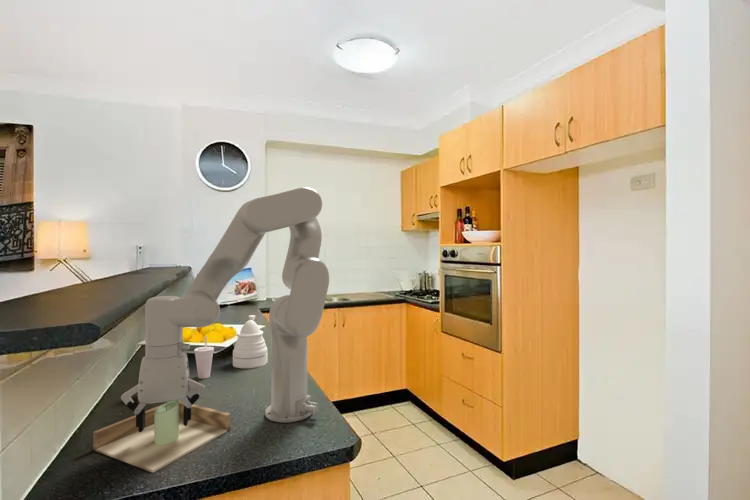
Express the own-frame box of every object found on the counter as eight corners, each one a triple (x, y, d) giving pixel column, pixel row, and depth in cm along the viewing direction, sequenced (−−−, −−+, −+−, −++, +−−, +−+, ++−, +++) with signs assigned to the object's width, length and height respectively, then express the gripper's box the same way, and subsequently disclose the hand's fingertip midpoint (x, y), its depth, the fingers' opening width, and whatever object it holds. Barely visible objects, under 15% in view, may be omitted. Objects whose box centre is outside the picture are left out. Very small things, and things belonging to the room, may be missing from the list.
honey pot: (240, 358, 156) (240, 313, 156) (271, 358, 155) (271, 314, 155) (226, 368, 143) (226, 319, 143) (261, 368, 142) (261, 320, 142)
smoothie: (214, 378, 131) (214, 337, 131) (193, 380, 129) (193, 339, 129) (214, 372, 137) (214, 333, 137) (194, 374, 135) (194, 335, 135)
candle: (155, 447, 85) (155, 410, 85) (153, 438, 89) (153, 403, 89) (180, 441, 88) (180, 405, 88) (177, 432, 92) (177, 398, 92)
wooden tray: (230, 429, 94) (230, 413, 94) (153, 472, 76) (153, 452, 76) (174, 414, 103) (174, 399, 103) (93, 450, 85) (93, 431, 85)
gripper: (206, 343, 94) (206, 414, 95) (124, 349, 89) (124, 425, 89) (204, 351, 87) (204, 427, 87) (115, 358, 82) (115, 440, 82)
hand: (164, 426), depth 88 cm, fingers open, 8 cm apart
